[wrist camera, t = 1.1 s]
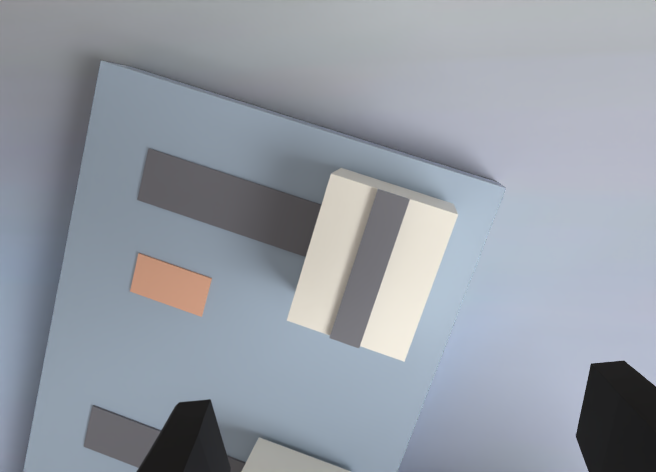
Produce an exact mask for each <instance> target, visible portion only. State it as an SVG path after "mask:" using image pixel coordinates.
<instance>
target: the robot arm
mask: <svg viewBox="0 0 656 472" xmlns="http://www.w3.org/2000/svg"><path fill="white" fill-rule="evenodd" d="M576 438H577V441H578V444H579V446H580V449H581V452H582V455H583V457H584V460H585V463H586V466H587V468H588V471H589V472H656V386H654V385H653V384H652V383H651V382H649V381H648V380H647V379H646V378H645V377H643V376H642V375H641V374H640V373H639V372H637V371H636V370H635V369H634V368H632V367H631V366H630V365H629V364H627V363H626V362H625V361H615V362H604V363H594V364H591V366H590V371H589V376H588V381H587V385H586V390H585V395H584V400H583V405H582V409H581V414H580V419H579V424H578V429H577V433H576ZM230 471H231V467H230V464H229V460H228V457H227V454H226V450H225V447H224V443H223V440H222V436H221V433H220V430H219V426H218V423H217V419H216V416H215V413H214V409H213V406H212V402H211V399H208V400H197V401H187V402H179V403H178V404H177V405H176V406H175V407H174V409H173V411H172V412H171V414H170V416H169V418H168V419H167V421H166V423H165V425H164V426H163V428H162V430H161V432H160V433H159V435H158V437H157V439H156V440H155V442H154V444H153V445H152V447H151V449H150V450H149V452H148V454H147V455H146V457H145V459H144V460H143V462H142V464H141V465H140V467H139V468H138V470H137V472H230Z"/></svg>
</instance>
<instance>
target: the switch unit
mask: <svg viewBox="0 0 656 472" xmlns="http://www.w3.org/2000/svg"><path fill="white" fill-rule="evenodd" d="M340 168H344V169H347V170H350V171H353V172H356V173H359V174H362V175H366V176H369V177H372V178H375V179H378V180H381V181H384V182H387V183H391V184H394V185H397V186H400V187H403V188H406V189H409V190H412V191H415V192H419V193H422V194H425V195H428V196H431V197H434V198H437V199H440V200H443V201H447V202H450V203H453V204H454V206H455V208H456V211H457V213H458V217H457V219H456V222H455V225H454V228H453V230H452V233H451V236H450V239H449V241H448V244H447V247H446V249H445V252H444V255H443V258H442V260H441V263H440V266H439V269H438V271H437V274H436V277H435V280H434V282H433V285H432V288H431V291H430V293H429V296H428V299H427V301H426V304H425V307H424V310H423V312H422V315H421V318H420V321H419V323H418V326H417V329H416V332H415V334H414V337H413V340H412V343H411V345H410V348H409V351H408V353H407V356H406V359H405V362H404V361H401V360H398V359H395V358H392V357H389V356H386V355H384V354H381V353H378V352H375V351H372V350H369V349H366V348H364V347H361V346H360V347H359V348H356V347H353V346H350V345H347V344H345V343H342V342H339V341H336V340H333V339H330V338H329V337H330V336H329V335H327V334H324V333H321V332H318V331H315V330H312V329H309V328H307V327H304V326H301V325H298V324H295V323H292V322H289V321H287V318H288V314H289V311H290V308H291V304H292V301H293V298H294V294H295V291H296V288H297V284H298V281H299V278H300V274H301V271H302V268H303V265H304V261H305V258H306V255H307V251H308V248H309V245H310V241H311V238H312V235H313V231H314V228H315V225H316V221H317V218H318V215H319V212H320V208H321V205H322V202H323V198H324V195H325V192H326V188H327V185H328V182H329V178H330V175H331V173H333V172H335V171H336V170H338V169H340ZM505 190H506V188H505V187H504V186H502V185H501V184H500V183H498V182H496V181H493V180H490V179H486V178H483V177H480V176H477V175H474V174H471V173H467V172H464V171H461V170H458V169H455V168H451V167H448V166H445V165H442V164H439V163H436V162H432V161H429V160H426V159H423V158H420V157H417V156H413V155H410V154H407V153H404V152H401V151H397V150H394V149H391V148H388V147H385V146H382V145H378V144H375V143H372V142H369V141H366V140H363V139H359V138H356V137H353V136H350V135H347V134H343V133H340V132H337V131H334V130H331V129H328V128H324V127H321V126H318V125H315V124H312V123H308V122H305V121H302V120H299V119H296V118H293V117H289V116H286V115H283V114H280V113H277V112H274V111H270V110H267V109H264V108H261V107H258V106H254V105H251V104H248V103H245V102H242V101H239V100H235V99H232V98H229V97H226V96H223V95H220V94H216V93H213V92H210V91H207V90H204V89H200V88H197V87H194V86H191V85H188V84H185V83H181V82H178V81H175V80H172V79H169V78H166V77H162V76H159V75H156V74H153V73H150V72H146V71H143V70H140V69H137V68H134V67H131V66H127V65H121V64H116V63H111V62H106V61H101V62H100V67H99V72H98V78H97V83H96V88H95V94H94V99H93V104H92V109H91V115H90V120H89V125H88V131H87V136H86V141H85V146H84V152H83V157H82V162H81V168H80V173H79V178H78V184H77V189H76V194H75V199H74V205H73V210H72V215H71V221H70V226H69V231H68V236H67V242H66V247H65V252H64V258H63V263H62V268H61V273H60V279H59V284H58V289H57V295H56V300H55V305H54V310H53V316H52V321H51V326H50V332H49V337H48V342H47V347H46V353H45V358H44V363H43V369H42V374H41V379H40V385H39V390H38V395H37V400H36V406H35V411H34V416H33V422H32V427H31V432H30V437H29V443H28V448H27V453H26V459H25V464H24V469H23V472H137V470H138V468H139V467H140V465H141V464H142V462H143V460H144V459H145V457H146V455H147V454H148V452H149V450H150V449H151V447H152V445H153V444H154V442H155V440H156V439H157V437H158V435H159V433H160V432H161V430H162V428H163V426H164V425H165V423H166V421H167V419H168V418H169V416H170V414H171V412H172V411H173V409H174V407H175V406H176V405H177V404H178V403H179V402H187V401H197V400H208V399H211V402H212V406H213V409H214V413H215V416H216V419H217V423H218V426H219V430H220V433H221V436H222V440H223V443H224V447H225V450H226V454H227V457H228V460H229V464H230V467H231V471H230V472H241V471H242V469H243V467H244V465H245V463H246V461H247V460H248V458H249V456H250V454H251V452H252V450H253V448H254V446H255V444H256V442H257V440H258V438H259V437H260V438H263V439H265V440H268V441H271V442H273V443H276V444H279V445H281V446H284V447H287V448H289V449H292V450H295V451H297V452H300V453H303V454H305V455H308V456H311V457H314V458H316V459H319V460H322V461H324V462H327V463H330V464H332V465H335V466H338V467H340V468H343V469H346V470H348V471H351V472H398V470H399V467H400V464H401V462H402V459H403V456H404V454H405V451H406V449H407V446H408V443H409V441H410V438H411V436H412V433H413V430H414V428H415V425H416V422H417V420H418V417H419V415H420V412H421V409H422V407H423V404H424V402H425V399H426V396H427V394H428V391H429V389H430V386H431V383H432V381H433V378H434V375H435V373H436V370H437V368H438V365H439V362H440V360H441V357H442V355H443V352H444V349H445V347H446V344H447V341H448V339H449V336H450V334H451V331H452V328H453V326H454V323H455V321H456V318H457V315H458V313H459V310H460V308H461V305H462V302H463V300H464V297H465V294H466V292H467V289H468V287H469V284H470V281H471V279H472V276H473V274H474V271H475V268H476V266H477V263H478V260H479V258H480V255H481V253H482V250H483V247H484V245H485V242H486V240H487V237H488V234H489V232H490V229H491V227H492V224H493V221H494V219H495V216H496V213H497V211H498V208H499V206H500V203H501V200H502V198H503V195H504V193H505Z"/></svg>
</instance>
